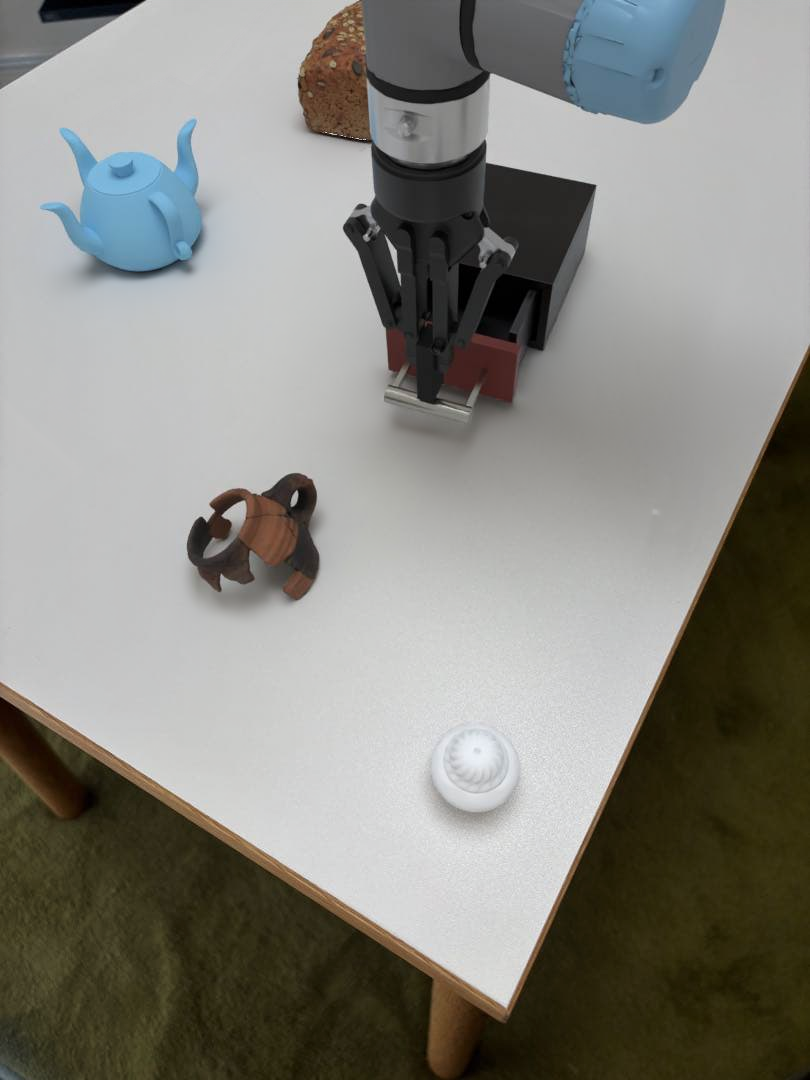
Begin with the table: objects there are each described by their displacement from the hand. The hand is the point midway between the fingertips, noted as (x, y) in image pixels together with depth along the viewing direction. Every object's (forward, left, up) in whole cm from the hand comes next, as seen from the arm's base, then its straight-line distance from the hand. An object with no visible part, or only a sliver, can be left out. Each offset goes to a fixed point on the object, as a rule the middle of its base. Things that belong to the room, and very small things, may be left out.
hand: (430, 390), depth 73 cm
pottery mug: (+8, +18, -5) cm, 20 cm away
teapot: (+41, -15, -5) cm, 44 cm away
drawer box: (0, -21, -5) cm, 22 cm away
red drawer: (0, -9, -4) cm, 10 cm away
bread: (+28, -49, -5) cm, 57 cm away
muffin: (-15, +30, -5) cm, 34 cm away
